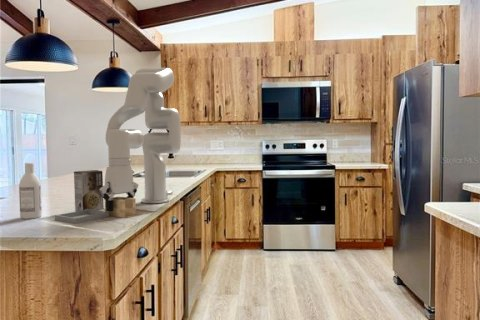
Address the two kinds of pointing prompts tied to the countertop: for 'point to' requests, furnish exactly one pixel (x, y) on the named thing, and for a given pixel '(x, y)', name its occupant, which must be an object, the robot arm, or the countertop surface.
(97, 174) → the coffee box
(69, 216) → the tray
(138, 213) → the board
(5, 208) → the countertop surface
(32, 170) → the bath foam
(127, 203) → the wooden block
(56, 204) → the countertop surface
